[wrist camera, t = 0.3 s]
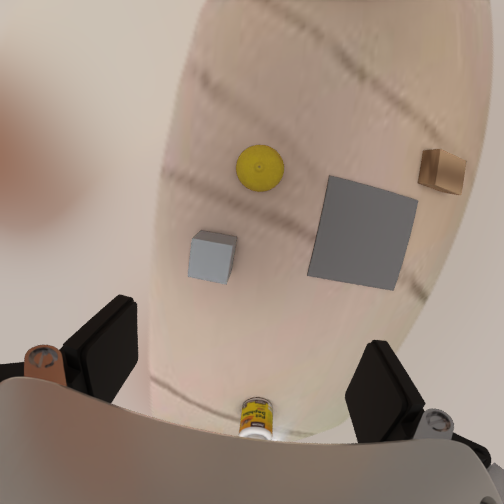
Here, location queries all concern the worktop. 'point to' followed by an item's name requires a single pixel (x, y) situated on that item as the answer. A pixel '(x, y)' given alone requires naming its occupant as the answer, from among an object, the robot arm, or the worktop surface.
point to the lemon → (260, 168)
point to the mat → (362, 234)
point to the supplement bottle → (256, 419)
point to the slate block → (212, 256)
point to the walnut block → (442, 171)
